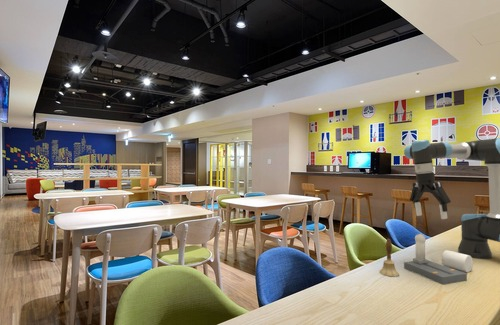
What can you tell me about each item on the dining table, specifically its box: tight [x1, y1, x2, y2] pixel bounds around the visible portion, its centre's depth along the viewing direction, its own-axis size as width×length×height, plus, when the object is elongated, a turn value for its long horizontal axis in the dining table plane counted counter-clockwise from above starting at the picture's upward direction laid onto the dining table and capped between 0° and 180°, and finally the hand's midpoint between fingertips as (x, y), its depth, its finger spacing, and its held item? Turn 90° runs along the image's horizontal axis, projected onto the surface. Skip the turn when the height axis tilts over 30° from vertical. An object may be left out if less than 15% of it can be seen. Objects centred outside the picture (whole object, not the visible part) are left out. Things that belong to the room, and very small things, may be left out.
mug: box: [441, 249, 474, 273], centre depth 139 cm, size 12×10×8 cm
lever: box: [412, 233, 429, 264], centre depth 139 cm, size 5×5×14 cm
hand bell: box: [379, 238, 400, 278], centre depth 133 cm, size 8×8×16 cm
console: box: [403, 259, 468, 285], centre depth 132 cm, size 14×20×3 cm
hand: (431, 217), depth 134 cm, fingers open, 13 cm apart
